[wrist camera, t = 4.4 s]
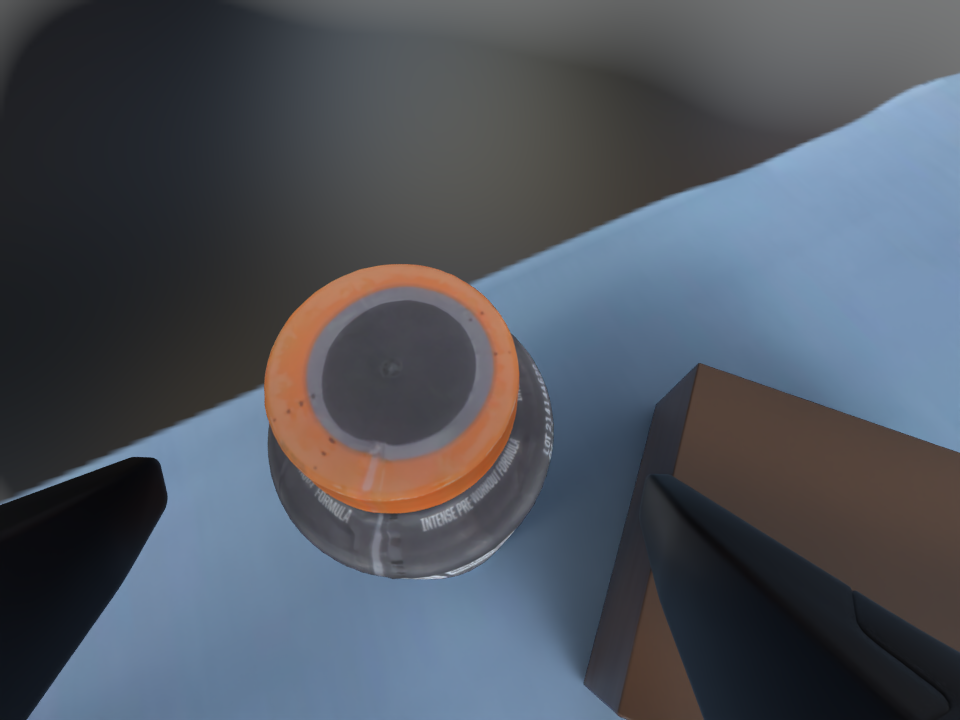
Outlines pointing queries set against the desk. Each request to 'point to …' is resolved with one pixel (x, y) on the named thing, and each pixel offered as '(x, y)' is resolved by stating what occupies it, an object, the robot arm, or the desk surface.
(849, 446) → the block
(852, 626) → the robot arm
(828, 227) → the desk surface
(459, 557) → the pill bottle
